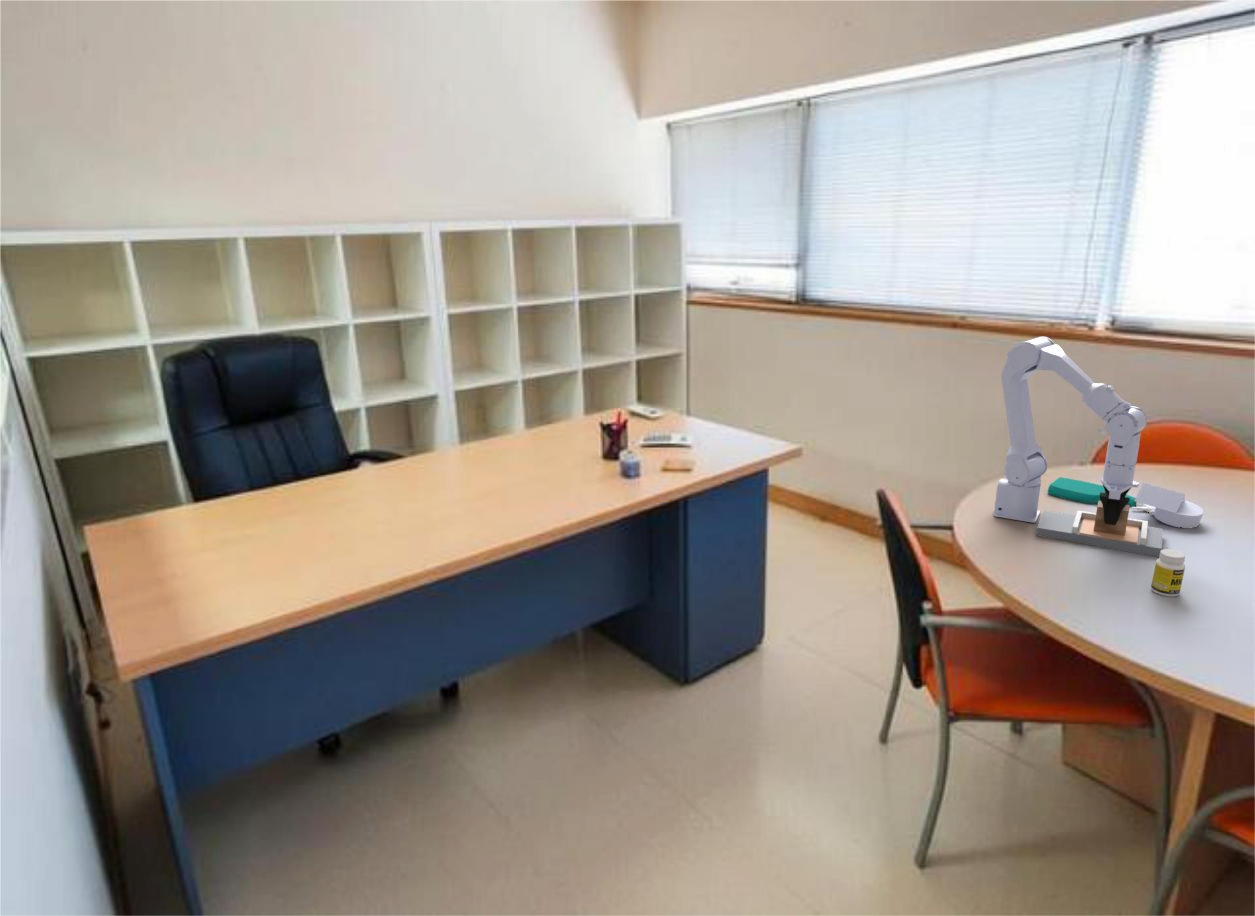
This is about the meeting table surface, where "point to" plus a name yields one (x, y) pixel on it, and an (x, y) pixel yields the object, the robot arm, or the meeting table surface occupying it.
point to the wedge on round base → (1170, 506)
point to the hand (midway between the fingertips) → (1111, 518)
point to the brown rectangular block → (1111, 529)
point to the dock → (1082, 531)
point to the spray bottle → (1087, 493)
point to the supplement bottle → (1168, 573)
